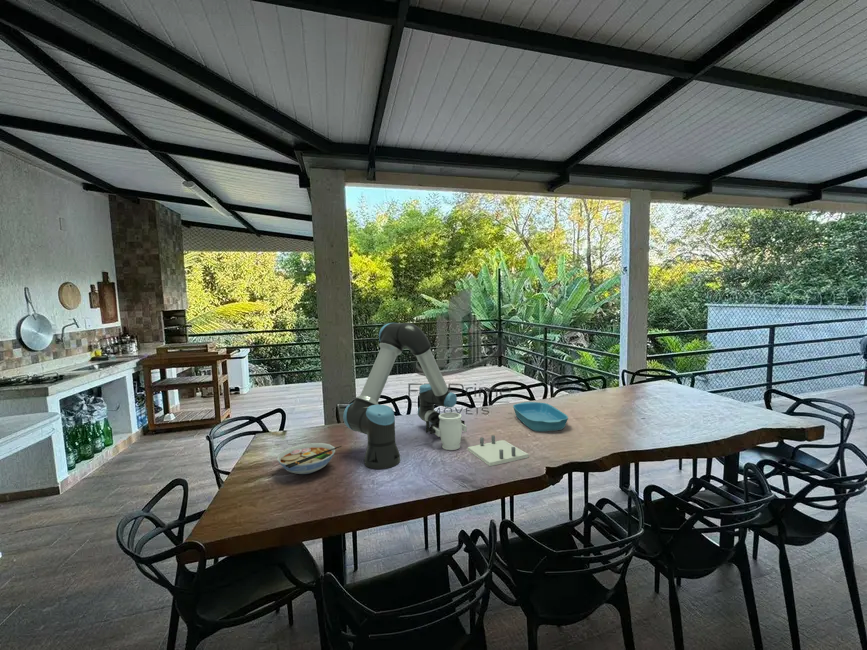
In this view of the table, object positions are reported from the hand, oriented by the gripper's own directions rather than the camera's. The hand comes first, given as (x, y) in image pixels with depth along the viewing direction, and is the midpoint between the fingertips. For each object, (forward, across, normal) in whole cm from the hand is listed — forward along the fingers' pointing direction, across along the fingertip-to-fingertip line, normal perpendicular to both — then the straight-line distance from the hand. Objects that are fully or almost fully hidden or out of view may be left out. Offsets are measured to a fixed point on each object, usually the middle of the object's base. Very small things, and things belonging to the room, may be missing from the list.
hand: (452, 431), depth 176 cm
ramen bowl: (-7, +63, -8) cm, 64 cm away
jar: (-2, 0, -8) cm, 8 cm away
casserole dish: (-10, -57, -8) cm, 59 cm away
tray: (+15, -14, -8) cm, 22 cm away
